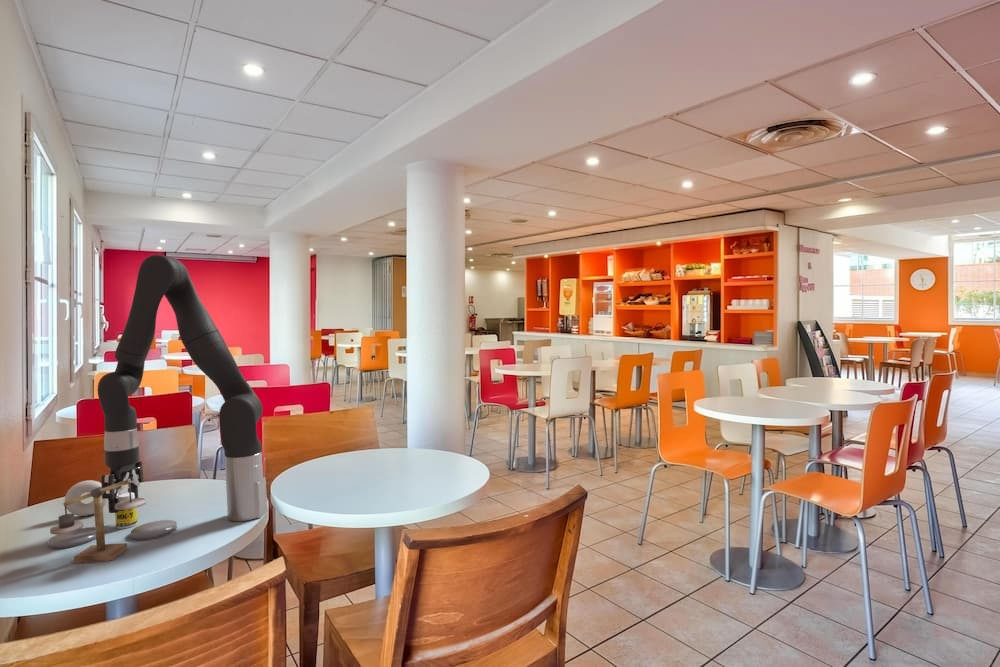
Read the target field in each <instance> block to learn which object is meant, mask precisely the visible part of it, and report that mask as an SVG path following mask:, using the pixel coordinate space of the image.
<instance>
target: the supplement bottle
mask: <svg viewBox="0 0 1000 667" xmlns="http://www.w3.org/2000/svg"><path fill="white" fill-rule="evenodd" d="M118 498H119V502H121V501H124V500H128V499H130V495H129V492H128V491H127V492H123V493H120V494H119V497H118ZM133 498H135V495H134V493H133V492H131V499H133ZM114 516H115V528H116V529H118V530H123V529H130V528H132V526H133V527H135V526H136V525H137V524H138V507H137V508H133V509H128V510H119V512H117V513H114Z"/></svg>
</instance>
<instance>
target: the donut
mask: <svg viewBox="0 0 1000 667" xmlns="http://www.w3.org/2000/svg"><path fill="white" fill-rule="evenodd" d="M98 487H102V482H100V481H97V480H92V479H91V480H90V479H89V480H88V479H87V480H83V481H79V482H77V483H75V484H73V485H72V486H71V487H70V488H69V489H68V490H67V492H66V494H65V496H64V502H63V503H65V502H67V501H70V500H73V499H75V498H78V497H81V496H83V494H85V493H87V494H89V493H91V491H92V490H94V489H96V488H98ZM107 492H108V491H106V494H107ZM102 502H103V508H104V507H105V506H106V505H107V504H108V499H102ZM66 507H67V512H69V513H70V514H74V516H79V517H87V516H88V515H89V516H91V515H95V513H94V499H93V500H92V501H91V502H89V503H83V502H82V500H81V501H78V502H76V503H73V504H70V505H67V506H66ZM89 516H88V517H89Z"/></svg>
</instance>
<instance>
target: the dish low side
mask: <svg viewBox="0 0 1000 667" xmlns="http://www.w3.org/2000/svg"><path fill="white" fill-rule="evenodd" d="M95 538H96V528H95V527H82V528H80V529H78V530H76V531H73V532H69V533H64V534H54V535H53V536H52V537H50V538H49V539H48V543H47V544H48V548H49V549H52V550H53V549H54V550H61V549H63V550H64V549H69V548H74V546H75V547H78V545H79V546H81V545H85V544H88V543H90V542H92V540H93V541H94V540H96V539H95Z"/></svg>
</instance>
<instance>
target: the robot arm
mask: <svg viewBox="0 0 1000 667" xmlns="http://www.w3.org/2000/svg"><path fill="white" fill-rule="evenodd" d="M136 277H137V278H136V284H135V289H134V293H133V297H132V303H131V306H130V309H129V310H130V311H129V314H128V318H127V320H126V323H125V326H124V328H123V332H122V333H121V336H120V339H119V342H118V343H117V344H118V345H117V346H116V349H115V352H114V359H115V360H116V361H117V364H116V366H115V367H116V368H115V370H114V371H112V372H108V373H106V374H104V375H103V376H102V377H101V378H100V379H99V381H98V383H97V396H98V401H99V404H100V407H101V410H102V413H103V415H104V416H103V417H104V419H103V420H104V438H103V446H104V447H103V450H104V465H105V467H107V468H109V469H110V471H109V474H103V475H102V476H101V483H102V488H105V487H108V486H111V485H114V484H116V483H119V482H122V481H125V480H127V479H131V482H130V486H131V492H133V493H134V495H135V498H139V487H140V484H141V483H143V482H144V473H143V472H144V471H143V461H140V446H139V445H140V444H139V443H140V442H139V440H140V439H139V433H138V417H137V411H136V408H135V407H134V406H131V405H130V400H129V396H132V395H133V394H134V393H136V392H137V390H138V389H139V387H140V385H141V384H142V380H143V377H144V370H145V362H146V359H147V357H148V355H149V353H150V350H151V346H152V345H153V342H154V338H155V334H156V326H157V325H156V322H157V317H158V316H157V315H158V310H159V307H160V304H161V301H162V299H163V298H164V297H165V298H166V299H167V300H166V301H167V302H168V303H169V305H170V306H171V308H172V310H173V313H174V316H175V319H176V325H177V331H178V334H179V338H180V340H181V343H182V344H183V346H184V349H185V350H186V352H187V354H188V356H189V357H190V359H191V360H192V362H193V363H194V365H196V367H197V368H199V370H201V372H202V373H204V375H206V377H207V378H208V379H210V380H211V382H212V383H213V384H214V385H215V386H216V388H217V389H218V390H219V393H220V395H221V397H222V399H223V401H224V402H223V404H222V405H221V406H220V409H219V413H218V422H219V424H218V425H219V435H220V442H221V443H220V444H221V446H222V449H223V451H224V452H223V453H224V466H225V468H224V469H225V471H224V472H225V473H224V474H225V485H226V486H225V489H226V491H225V492H226V506H227V510H226V512H227V520H229V521H232V522H244V521H251V520H254V519H260V518H262V516H264V514H265V513H266V512H268V501H267V500H268V499H267V498H268V496H267V478H266V476H264V474H263V473H264V472H263V471H264V470H263V468H264V466H263V453H262V452H263V451H262V449H263V448H262V441H261V440H260V439H259V437H258V431H257V430H258V429H257V423H258V422H259V420H261V418H262V415H263V409H264V408H263V405H262V404H263V403H262V401H261V400H260V399H259V397H258V395H257V394H256V393H255V391H254V390H253V388H252V387H251V385H250V384H249V383H248V381H247V380H246V378H245V377H244V376H243V373H242V372H241V371H240V370H241V369H239V368H240V367H239V366H238V364H237V362H236V361H235V360H236V359H235V358H234V356H233V355H232V353H231V351H230V349H229V347H228V346H227V343H226V341H225V339H224V337H223V336H222V333H221V332H220V331H219V329H218V327H217V326H216V324H215V322H214V321H213V319H212V317H211V316H210V314H209V312H208V310H207V308H206V307H205V306H204V304H203V302H202V301H201V299H200V297H199V294H198V293H197V290H196V287H195V285H194V284H193V281H192V278H191V275H190V273H189V271H188V269H187V268H186V265H185V264H183V263H182V261H180V260H179V259H177V258H175V257H172V256H167V255H163V254H153V255H152V254H151V255H149V256H147V257H146V258H144V260H143V261H142V262H141V263H140V266H139V268H138V273H137V276H136ZM125 486H127V487H128V488H127V493H128V492H129V483H127V484H125V485H122V486H119V487H117V488H114V489H111V490H108V492H107V494H106V492H104V494H103V495H102V499H108V501H107V504H108V513H109V514H115V513H117V512H119V510H116V509H115V504H117V503H118V502H119V498H118V497H119V494H121V491H123V490H124V488H125Z"/></svg>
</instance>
